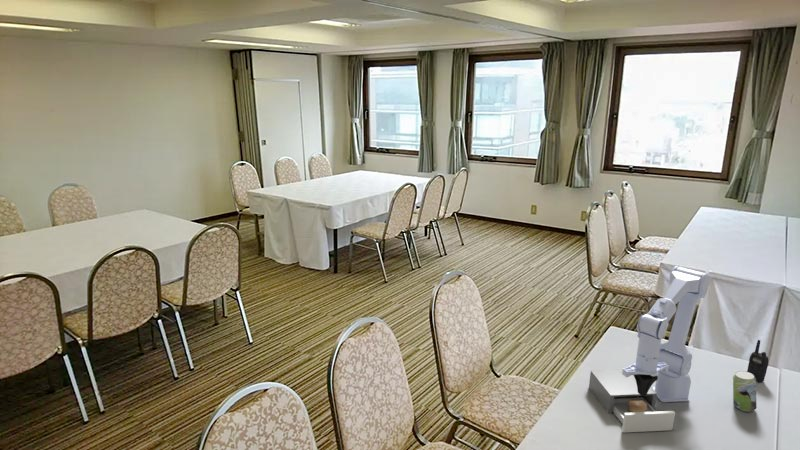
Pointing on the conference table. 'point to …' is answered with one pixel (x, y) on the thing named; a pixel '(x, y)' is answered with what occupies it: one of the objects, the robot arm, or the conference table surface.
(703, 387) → the conference table surface
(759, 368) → the two-way radio
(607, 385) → the housing
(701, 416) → the conference table surface
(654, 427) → the tray
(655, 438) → the conference table surface
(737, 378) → the beverage can
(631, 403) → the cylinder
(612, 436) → the conference table surface
